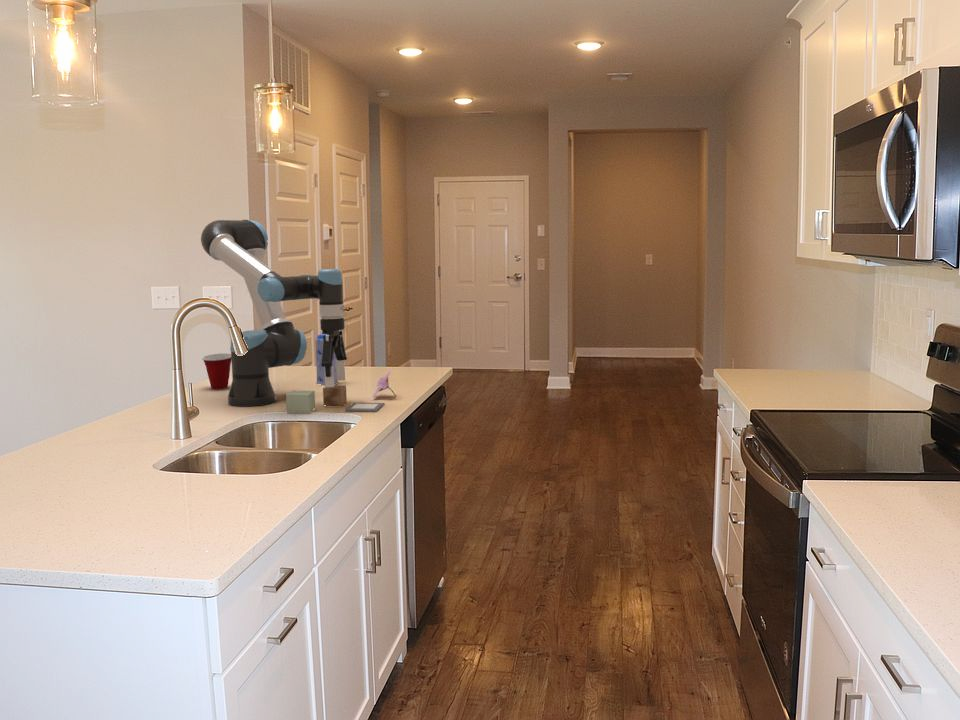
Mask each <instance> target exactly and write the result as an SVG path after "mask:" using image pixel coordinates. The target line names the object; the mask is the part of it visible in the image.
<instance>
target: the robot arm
mask: <svg viewBox="0 0 960 720" xmlns="http://www.w3.org/2000/svg"><path fill="white" fill-rule="evenodd" d="M268 240H269V237H268V233H267V231H266V229H265V227H264V226H263V225H262V224H261V223H260V222H259V221H256V220H251V219H250V220H249V219H241V220H237V219H235V220H231V219H227V220H226V219H225V220H224V219H217V220H214V221H211V222H210V223H208V224H207V225H206V226H205V227H204V228H203V230H202V232H201V237H200V243H201V247H202V248H203V250H204V252H205V253H206V254H207V255H208V256H209V257H211V258H212V259H213V260H215V261H220V262H223V263H224V264H225V265H226V266H228V268H229V267H230V269H232V270H233V271H234V272H236V273H237V274H238V275H240V276H241V277H242V278H243V279H244V281H245V285H246V288H247V291H248V293H249V296H250V298H251V301H252V304H253V307H254V309H255V313H256V316H257V318H258V320H259V324H260V326H261V329H252V330H244V331H241V332H242V334H243V337H244V340H245V342H246V344H247V346H248V352H247V353H246V354H245V355H243V356H237V355H236V354H235V351H234V348H233V343H232V340H231V339H230V348H229V349H230V350H229V351H230V354H231V376H232V377H231V378H232V382H231V385H230V389H229V392H228V394H227V395H228V396H227V403H228V405H230V406H235V407H236V406H237V407H253V406H254V407H256V406H262V405H269V404H272V403H275V402H276V394H275V393H276V392H275V391H274V388H273V386H272V385H273V384H272V382H271V380H270V375H269V372H270V370H269V369H271V368H278V367H284V366H288V367H289V366H291V365H296V364H298V363H300V362H302V360H304V358H305V356H306V352H307V349H308V343H307V342H308V341H307V337H306V335H305V334H304V332H303V331H302V330H300V329H297V328H296V329H295V327H294V324H293V322H292V320H288V319H287V318H286V315H285V312H284V310H283V307H282V304H281V302H286V301H297V300H310V299H311V300H312V299H313V300H314V299H317V300H318V301H319V317H320V318H321V319H320V320H319V321H320V330H321V331H322V330H323V331H327V335H324V336H323V354H322V364H321V367H324V374H325V385H324V388H325V387H334V373H333V366H332V362H333V356H334V352H335V355H336V359H337V361H336V375H337V380H338V381H346V368H345V365H346V364H345V361H347V360H348V357H347V354H346V348H345V343H344V337H343V331H344V330H345V328H346V327H345V318H344V316H345V314H344V313H345V312H344V311H345V310H346V307H345V306H344V292H343V291H344V288H343V287H344V286H343V285H344V284H343V283H344V281H343V275H342V271H341V270H340V269H339V268H327V269H324V268H323V269H319V270H318V272H317V275H313V274H312V275H307V274H304V275H303V274H302V275H294V276H281V275H280V274H279V273H277V272H276V271H274V269H271V267H269V266H268V265H266V261H265V259H264V258H265V255H266V254H267V248H268V244H269V243H268ZM342 330H343V331H342Z"/></svg>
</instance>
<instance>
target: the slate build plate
mask: <svg viewBox="0 0 960 720" xmlns="http://www.w3.org/2000/svg"><path fill="white" fill-rule="evenodd" d="M383 405H384V406H385V402H353V403H352V404H350V405H349V406H347V407H346V408H345V409H344V412H345V411H346V412H345V413H377V412H378V411H379V410H381V409H382V408H383V407H384V406H383ZM377 410H378V411H377ZM376 411H377V412H376Z"/></svg>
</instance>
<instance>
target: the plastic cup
mask: <svg viewBox="0 0 960 720" xmlns="http://www.w3.org/2000/svg"><path fill="white" fill-rule="evenodd" d="M201 359H202V361H203V362H204V365H205V369H206V372H207V376H208V380H209V384H210V385H209V386H210V388H211V389H212V390H223V389H228V387H229V379H230V372H231V365H232V360H231V353H228V352H224V353H222V352H220V353H212V354H207V355H203V356H202V357H201Z"/></svg>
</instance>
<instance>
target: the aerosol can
mask: <svg viewBox="0 0 960 720" xmlns="http://www.w3.org/2000/svg"><path fill="white" fill-rule="evenodd" d="M321 331H322V332H321V333H320V334H318V335H317V337H315V341H314V342H315V362H316V363H315V366H316V385H317V384H321V385H320V386H325V374H324V367H321V364H322V354H323V336H324V335H327V331H323V330H321ZM336 361H338V360H337V359H336V355H335V352H334V356H333V362H332V366H333V373H334V384H335V385H337V384H336V383H338V384H339V380H337V375H336Z"/></svg>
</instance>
